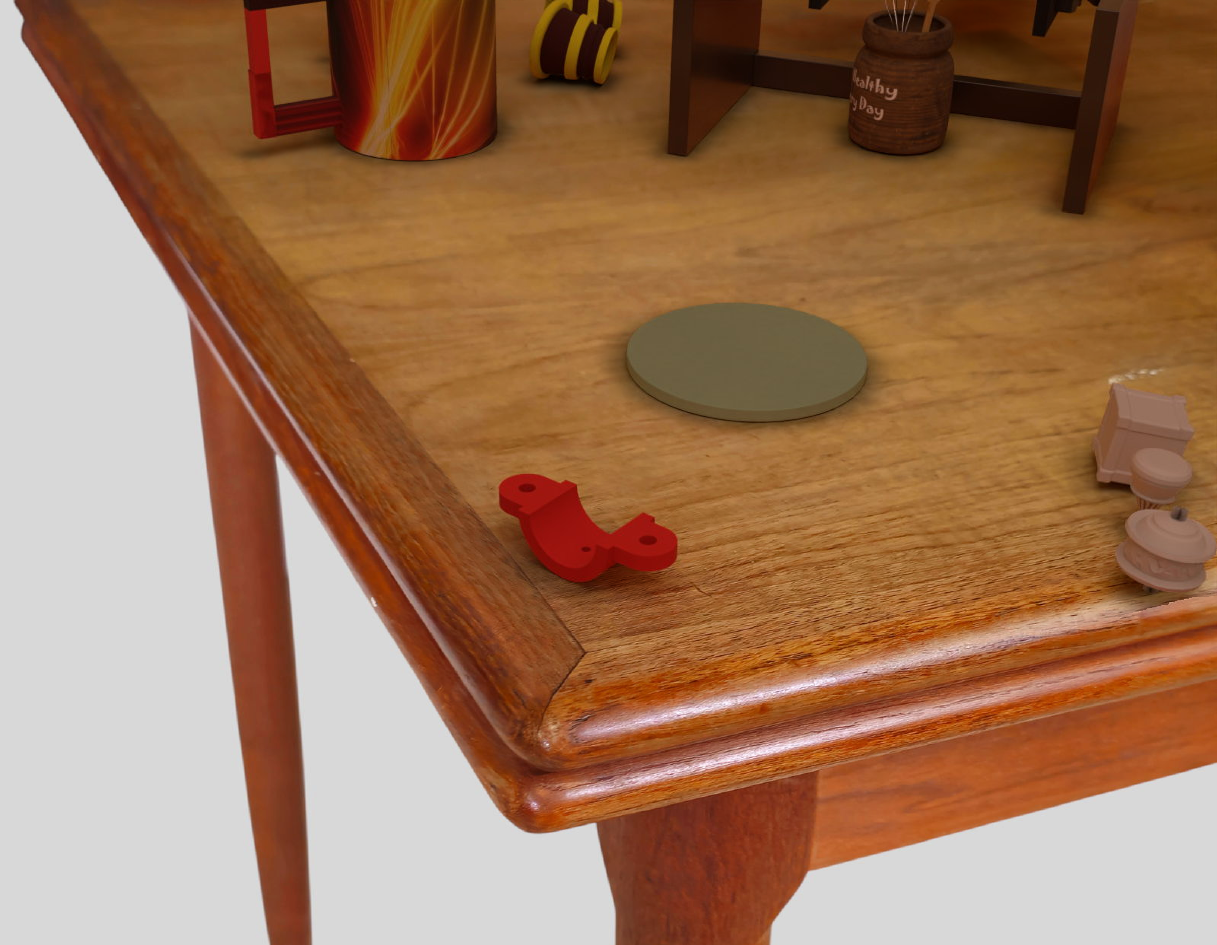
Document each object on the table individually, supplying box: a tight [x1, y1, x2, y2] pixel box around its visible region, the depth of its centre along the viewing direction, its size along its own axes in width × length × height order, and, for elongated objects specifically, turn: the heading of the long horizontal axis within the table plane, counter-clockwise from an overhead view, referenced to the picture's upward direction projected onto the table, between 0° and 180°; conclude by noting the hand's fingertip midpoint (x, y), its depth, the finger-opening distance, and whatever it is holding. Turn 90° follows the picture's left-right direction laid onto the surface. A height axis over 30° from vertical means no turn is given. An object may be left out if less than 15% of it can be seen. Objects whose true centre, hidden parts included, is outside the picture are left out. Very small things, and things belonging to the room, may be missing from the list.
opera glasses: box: [528, 0, 623, 85], centre depth 117 cm, size 10×5×5 cm, turn 176°
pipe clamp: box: [498, 472, 678, 583], centre depth 68 cm, size 8×3×2 cm, turn 51°
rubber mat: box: [625, 302, 868, 423], centre depth 83 cm, size 11×11×1 cm
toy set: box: [1090, 382, 1217, 595], centre depth 71 cm, size 12×3×4 cm, turn 172°
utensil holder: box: [847, 0, 955, 155], centre depth 105 cm, size 6×6×12 cm
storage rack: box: [666, 0, 1140, 215], centre depth 105 cm, size 15×24×11 cm, turn 70°
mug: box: [242, 0, 498, 161], centre depth 103 cm, size 10×14×12 cm
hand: (926, 0), depth 108 cm, fingers open, 13 cm apart
